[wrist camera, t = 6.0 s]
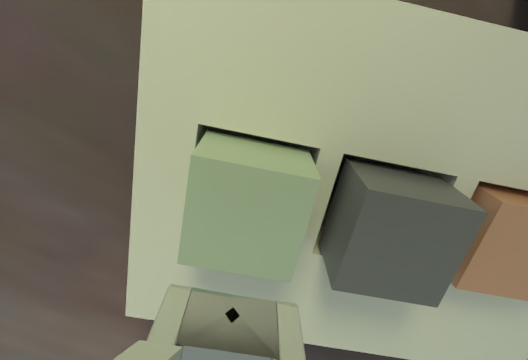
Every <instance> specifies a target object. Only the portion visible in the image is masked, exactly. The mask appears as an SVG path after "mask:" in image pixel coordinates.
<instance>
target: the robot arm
mask: <svg viewBox="0 0 528 360" xmlns="http://www.w3.org/2000/svg"><path fill="white" fill-rule="evenodd" d="M113 360H306V356H305V350H304V343H303V336H302V330H301V323H300V317H299V310H298V306H297V305H296V303H289V302H281V301H271V300H265V299H258V298H251V297H245V296H238V295H232V294H227V293H221V292H216V291H210V290H205V289H199V288H194V287H193V288H191V287H186V286H181V285H175V284H171V285H170V286H169V287H168V289H167V291H166V294H165V296H164V299H163V301H162V304H161V306H160V308H159V311H158V313H157V316H156V318H155V321H154V323H153V326H152V328H151V331H150V333H149V336H148V338H147V341H140V340H139V341H137V342H136V343H135V344H133V345H132V346H131V347H129V348H128V349H126V350H125V351H124V352H122V353H121V354H120V355H118V356H117V357H115V358H114V359H113Z"/></svg>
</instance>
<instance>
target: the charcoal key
mask: <svg viewBox="0 0 528 360" xmlns="http://www.w3.org/2000/svg"><path fill="white" fill-rule="evenodd" d="M487 215H488V212H487V211H485V210H484V209H483V208H481V207H480V206H479V205H477V204H476V203H475V202H473V201H472V200H471V199H469V198H468V197H467V196H465V195H464V194H463V193H461V192H460V191H459V190H457V189H456V188H455V187H453V186H452V185H451V184H449V183H448V182H447V181H445V180H444V179H443V178H441V177H437V176H432V175H427V174H422V173H417V172H412V171H407V170H403V169H398V168H393V167H388V166H383V165H378V164H373V163H368V162H363V161H358V160H353V159H348V158H346V160H345V163H344V166H343V169H342V172H341V175H340V178H339V181H338V184H337V188H336V191H335V194H334V197H333V200H332V203H331V206H330V209H329V212H328V215H327V219H326V222H325V225H324V228H323V231H322V234H321V237H320V240H319V245H320V248H321V252H322V256H323V259H324V263H325V267H326V270H327V274H328V278H329V281H330V285H331V288H332V290H335V291H341V292H347V293H353V294H359V295H365V296H371V297H377V298H383V299H389V300H394V301H400V302H406V303H412V304H418V305H424V306H430V307H436V308H438V306H439V304H440V302H441V300H442V298H443V297H444V295H445V293H446V291H447V289H448V287H449V285H450V284H451V282H452V280H453V278H454V276H455V274H456V272H457V271H458V269H459V267H460V265H461V263H462V261H463V259H464V258H465V256H466V254H467V252H468V250H469V248H470V246H471V245H472V243H473V241H474V239H475V237H476V235H477V233H478V232H479V230H480V228H481V226H482V224H483V222H484V220H485V219H486V217H487Z"/></svg>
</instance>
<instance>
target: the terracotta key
mask: <svg viewBox="0 0 528 360" xmlns="http://www.w3.org/2000/svg"><path fill="white" fill-rule="evenodd" d="M471 200H472V201H473V202H475V203H476V204H477V205H479V206H480V207H481V208H483V209H484V210H485V211H487V212H488V215H487V217H486V219H485V220H484V222H483V224H482V226H481V228H480V230H479V232H478V233H477V235H476V237H475V239H474V241H473V243H472V245H471V246H470V248H469V250H468V252H467V254H466V256H465V258H464V259H463V261H462V263H461V265H460V267H459V269H458V271H457V272H456V274H455V276H454V278H453V280H452V282H451V283H452V285H453V286H454V287H455V288H456V289H461V290H467V291H473V292H478V293H484V294H490V295H496V296H501V297H507V298H513V299H519V300H524V301H528V191H527V190H522V189H517V188H512V187H507V186H502V185H497V184H492V183H487V182H482V181H479V183H478V185H477V187H476V189H475V191H474V193H473V195H472V197H471Z"/></svg>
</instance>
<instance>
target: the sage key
mask: <svg viewBox="0 0 528 360" xmlns="http://www.w3.org/2000/svg"><path fill="white" fill-rule="evenodd" d="M321 181H322V180H321V178H320V175H319V173H318V170H317V168H316V166H315V163H314V161H313V159H312V156H311V154H310V152H309V151H308V150H303V149H298V148H294V147H289V146H284V145H279V144H274V143H269V142H264V141H259V140H254V139H249V138H244V137H239V136H234V135H229V134H224V133H219V132H214V131H209V130H207V132H206V133H205V135H204V136H203V138H202V139H201V141H200V142H199V144H198V145H197V147H196V148H195V150H194V151H193V153H192V154H191V158H190V166H189V174H188V182H187V190H186V198H185V206H184V213H183V221H182V229H181V237H180V245H179V253H178V261H177V264H181V265H187V266H193V267H199V268H204V269H210V270H216V271H222V272H228V273H234V274H240V275H246V276H252V277H258V278H264V279H270V280H276V281H282V282H288V283H291V281H292V278H293V274H294V271H295V268H296V264H297V261H298V258H299V254H300V251H301V248H302V244H303V241H304V238H305V234H306V231H307V228H308V224H309V221H310V218H311V214H312V211H313V208H314V204H315V201H316V198H317V194H318V191H319V188H320V184H321Z"/></svg>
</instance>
